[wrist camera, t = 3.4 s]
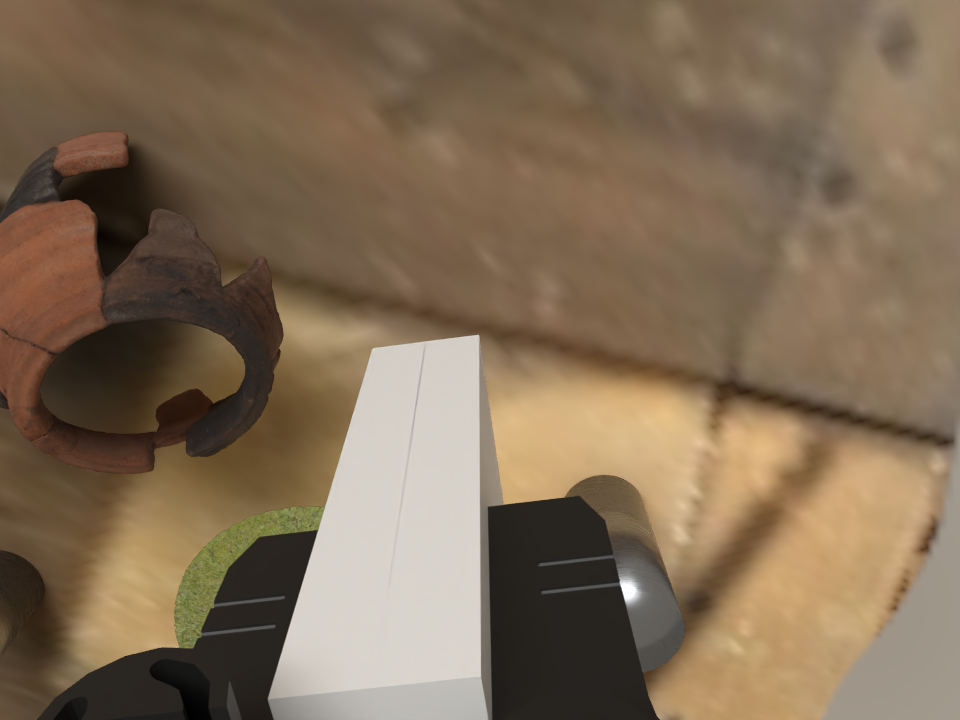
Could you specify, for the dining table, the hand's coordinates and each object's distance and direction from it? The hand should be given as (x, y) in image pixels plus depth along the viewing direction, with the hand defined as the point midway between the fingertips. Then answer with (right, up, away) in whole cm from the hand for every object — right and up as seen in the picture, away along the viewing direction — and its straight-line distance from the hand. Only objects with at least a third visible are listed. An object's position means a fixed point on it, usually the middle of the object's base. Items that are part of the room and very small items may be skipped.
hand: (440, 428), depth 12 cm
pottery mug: (-13, +5, +18) cm, 23 cm away
